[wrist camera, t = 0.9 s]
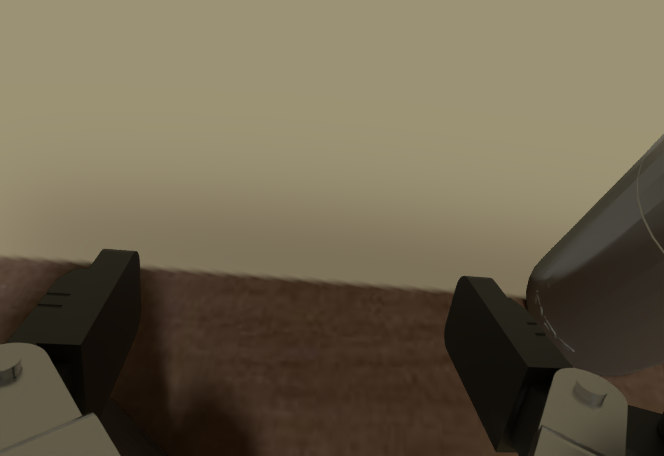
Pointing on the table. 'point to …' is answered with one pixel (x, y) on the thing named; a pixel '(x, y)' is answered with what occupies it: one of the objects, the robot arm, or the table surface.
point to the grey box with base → (127, 433)
